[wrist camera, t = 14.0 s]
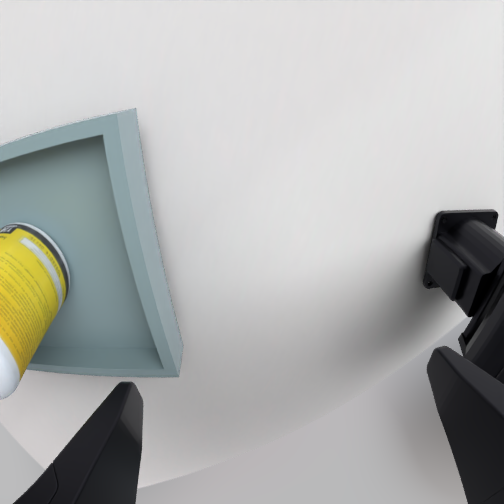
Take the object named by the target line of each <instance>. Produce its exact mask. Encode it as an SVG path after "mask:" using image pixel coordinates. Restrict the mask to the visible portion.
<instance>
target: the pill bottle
mask: <svg viewBox="0 0 504 504" xmlns="http://www.w3.org/2000/svg"><path fill="white" fill-rule="evenodd" d="M69 289H70V274H69V269H68V265H67V263H66V260H65V258H64V256H63V254H62V252H61V250H60V249H59V247H58V246H57V245H56V243H55V242H54V241H53V240H52V239H51V238H50V237H49V236H48V235H47V234H46V233H45V232H43V231H42V230H40V229H39V228H37V227H35V226H33V225H30V224H27V223H11V224H8V225H5V226H4V227H2V228H1V229H0V400H1V399H4V398H6V397H8V396H10V395H11V394H12V393H13V392H14V391H15V389H16V388H17V386H18V384H19V382H20V380H21V378H22V376H23V374H24V372H25V370H26V368H27V366H28V364H29V363H30V361H31V359H32V357H33V355H34V353H35V352H36V350H37V348H38V346H39V344H40V342H41V341H42V339H43V337H44V335H45V334H46V332H47V330H48V328H49V326H50V325H51V323H52V321H53V319H54V318H55V316H56V315H57V313H58V311H59V310H60V308H61V306H62V305H63V303H64V302H65V300H66V298H67V296H68V293H69Z"/></svg>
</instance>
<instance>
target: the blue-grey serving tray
mask: <svg viewBox="0 0 504 504" xmlns="http://www.w3.org/2000/svg"><path fill="white" fill-rule="evenodd" d="M11 223H27V224H30V225H33V226H35V227H37V228H39V229H40V230H42V231H43V232H45V233H46V234H47V235H48V236H49V237H50V238H51V239H52V240H53V241H54V242H55V243H56V245H57V246H58V247H59V249H60V250H61V252H62V254H63V256H64V258H65V260H66V263H67V265H68V269H69V274H70V289H69V293H68V296H67V298H66V300H65V302H64V303H63V305H62V306H61V308H60V310H59V311H58V313H57V315H56V316H55V318H54V319H53V321H52V323H51V325H50V326H49V328H48V330H47V332H46V334H45V335H44V337H43V339H42V341H41V342H40V344H39V346H38V348H37V350H36V352H35V353H34V355H33V357H32V359H31V361H30V363H29V364H28V366H27V368H26V369H28V370H36V371H45V372H55V373H66V374H79V375H94V376H116V377H179V373H180V365H181V358H182V351H183V343H182V339H181V335H180V332H179V328H178V324H177V320H176V316H175V312H174V309H173V305H172V301H171V297H170V292H169V288H168V284H167V280H166V275H165V271H164V267H163V262H162V258H161V253H160V248H159V244H158V239H157V234H156V229H155V224H154V219H153V214H152V208H151V203H150V198H149V192H148V186H147V180H146V174H145V168H144V162H143V155H142V149H141V142H140V134H139V127H138V119H137V111H136V108H134V109H129V110H124V111H119V112H114V113H109V114H105V115H100V116H96V117H92V118H88V119H84V120H80V121H76V122H72V123H68V124H64V125H61V126H57V127H54V128H50V129H47V130H44V131H40V132H37V133H34V134H31V135H28V136H25V137H22V138H19V139H16V140H13V141H10V142H7V143H5V144H2V145H0V229H1V228H2V227H4V226H5V225H8V224H11Z"/></svg>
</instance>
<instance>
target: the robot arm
mask: <svg viewBox="0 0 504 504" xmlns="http://www.w3.org/2000/svg"><path fill="white" fill-rule="evenodd" d="M492 216H493V217H492ZM443 217H444V219H443V220H442V218H443ZM497 219H498V213H497V212H496V211H495V210H455V211H441V212H439V213H438V215H437V217H436V223H435V229H434V234H433V239H432V243H431V248H430V253H429V257H428V262H427V266H426V272H425V276H424V280H423V285H424V286H425V287H426V288H427V289H430V288H437V287H441V288H442V289H443V291H444V292H445V293H446V294H447V296H448V297H449V298H450V299H451V300H452V301H456V302H457V304H458V305H459V306H460V307H461V309H462V310H463V311H464V313H465V314H466V315H467V316H468V317H472V319H471V321H470V323H469V324H468V326H467V328H466V329H465V331H464V332H463V333H461V335H460V337H459V338H458V341H459V344H460V347H461V350H462V353H463V356H461V355H459V354H458V353H457V352H455V351H453V350H452V349H451V348H449V347H447V346H442V347H438V348H435V349H434V351H433V353H432V355H431V358H430V360H429V362H428V365H427V374H428V377H429V381H430V384H431V388H432V391H433V395H434V399H435V403H436V406H437V410H438V413H439V416H440V419H441V421H442V424H443V427H444V429H445V432H446V435H447V438H448V441H449V444H450V446H451V449H452V453H453V455H454V459H455V462H456V465H457V468H458V471H459V474H460V477H461V481H462V484H463V488H464V491H465V495H466V498H467V502H468V504H504V237H503V236H502V235H501V234H499V233H498V232H497V231H495V228H496V223H497ZM428 282H429V283H428ZM142 427H143V400H142V397H141V395H140V393H139V391H138V389H137V387H136V385H135V384H134V383H133V382H120V383H119V384H118V385H117V386H116V387H115V388H114V389H113V391H112V392H111V393H110V394H109V395H108V397H107V398H106V399H105V400H104V401H103V402H102V404H101V405H100V406H99V407H98V408H97V410H96V411H95V412H94V413H93V414H92V415H91V417H90V418H89V419H88V420H87V421H86V423H85V424H84V425H83V426H82V427H81V428H80V430H79V431H78V432H77V433H76V434H75V436H74V437H73V438H72V439H71V440H70V442H69V443H68V444H67V445H66V446H65V448H64V449H63V450H62V451H61V452H60V454H59V455H58V456H57V457H56V458H55V460H54V461H53V463H51V464H50V465H49V467H48V468H47V469H46V470H45V472H44V473H43V474H42V475H41V476H40V477H39V478H38V480H37V481H36V482H35V483H34V484H33V485H32V486H31V487H30V488H29V489H28V490H27V491H26V492H25V493H24V494H23V495H22V496H21V497H20V498H18V499H17V500H16V501H15V502H14V503H13V504H135V502H136V493H137V484H138V476H139V468H140V461H141V453H142Z"/></svg>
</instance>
